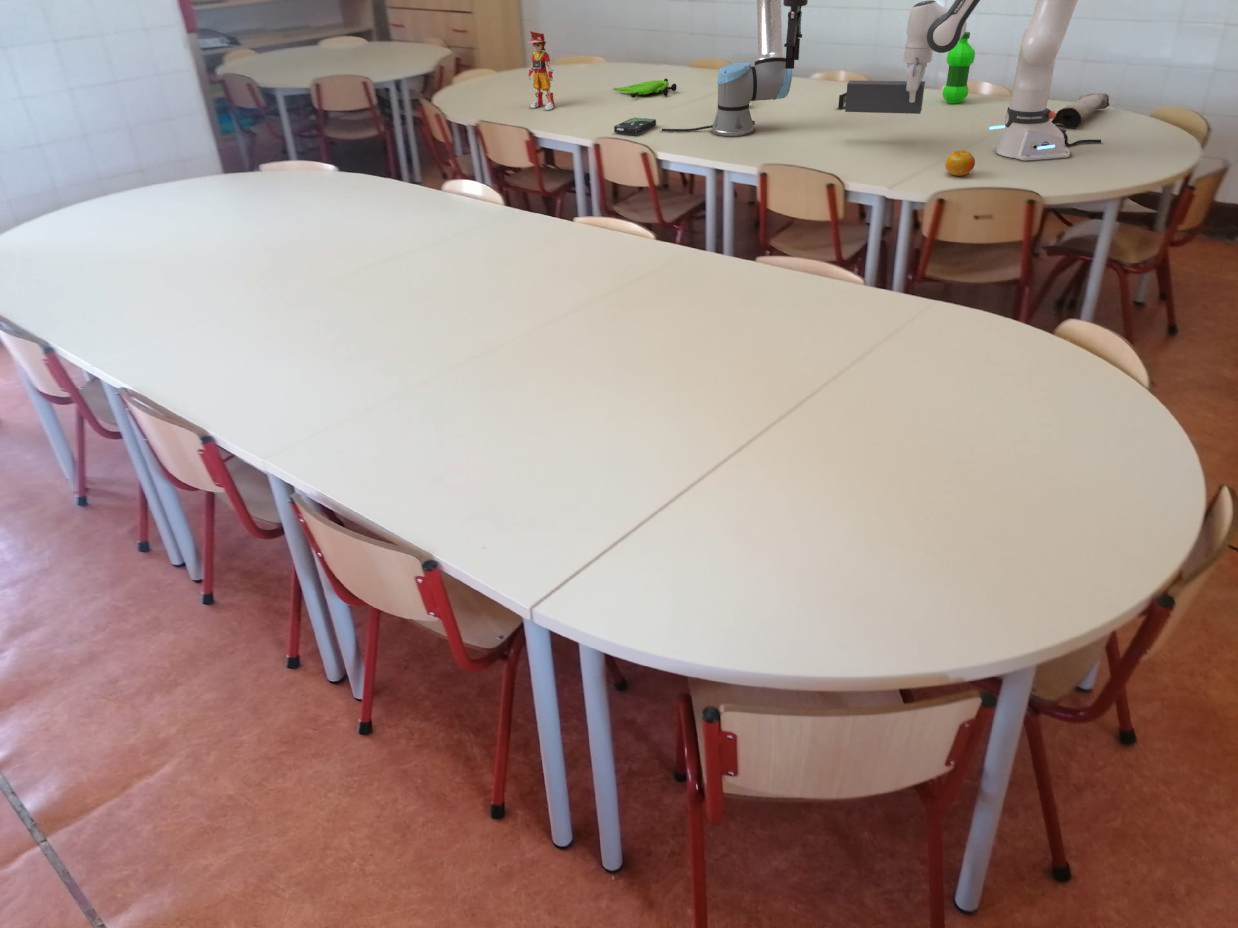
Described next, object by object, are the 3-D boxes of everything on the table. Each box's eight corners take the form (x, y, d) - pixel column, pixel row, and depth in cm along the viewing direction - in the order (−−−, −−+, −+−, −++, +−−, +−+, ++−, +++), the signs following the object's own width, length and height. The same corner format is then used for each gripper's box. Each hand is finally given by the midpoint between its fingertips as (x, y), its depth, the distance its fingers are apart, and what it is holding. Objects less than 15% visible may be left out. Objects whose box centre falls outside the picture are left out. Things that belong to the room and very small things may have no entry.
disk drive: (637, 136, 338) (656, 126, 348) (636, 129, 336) (656, 118, 346) (613, 134, 342) (633, 123, 352) (613, 126, 341) (633, 116, 351)
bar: (845, 112, 311) (847, 84, 306) (847, 108, 315) (849, 80, 310) (920, 114, 303) (923, 85, 298) (921, 110, 307) (925, 81, 302)
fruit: (939, 166, 278) (957, 142, 275) (940, 168, 286) (957, 145, 283) (962, 181, 277) (980, 158, 274) (962, 183, 285) (979, 160, 282)
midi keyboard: (840, 109, 355) (842, 95, 352) (838, 108, 355) (839, 95, 353) (863, 99, 365) (864, 86, 362) (860, 99, 366) (861, 86, 363)
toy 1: (525, 109, 381) (517, 32, 364) (534, 104, 388) (527, 28, 371) (550, 110, 377) (543, 32, 360) (559, 105, 384) (553, 28, 367)
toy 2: (686, 85, 398) (631, 84, 414) (685, 72, 395) (629, 72, 411) (651, 104, 381) (596, 103, 397) (650, 92, 378) (594, 91, 394)
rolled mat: (1076, 98, 337) (1101, 81, 329) (1090, 118, 338) (1115, 102, 330) (1045, 119, 320) (1071, 102, 312) (1060, 141, 321) (1085, 124, 312)
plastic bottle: (973, 101, 354) (984, 32, 339) (955, 106, 349) (966, 36, 335) (952, 97, 361) (962, 29, 346) (934, 102, 356) (944, 33, 342)
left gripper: (804, -3, 270) (799, 72, 282) (812, -15, 290) (807, 56, 302) (779, -3, 272) (775, 72, 284) (788, -14, 292) (785, 56, 304)
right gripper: (925, 62, 287) (919, 107, 295) (930, 49, 303) (925, 93, 310) (904, 62, 289) (899, 107, 297) (911, 49, 305) (906, 92, 312)
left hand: (792, 64), depth 293 cm, fingers open, 13 cm apart
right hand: (913, 99), depth 304 cm, fingers closed on bar, 5 cm apart
